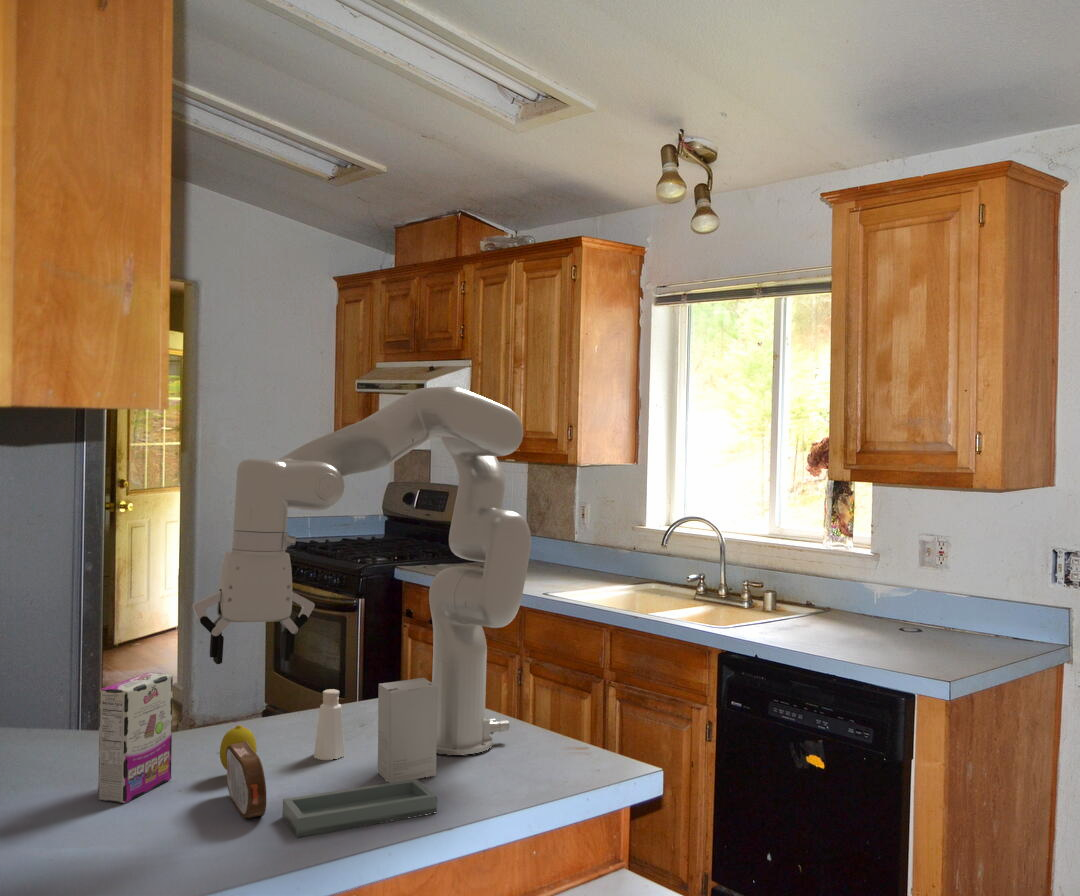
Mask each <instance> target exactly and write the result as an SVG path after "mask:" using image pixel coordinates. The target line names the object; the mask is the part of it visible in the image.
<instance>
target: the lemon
mask: <svg viewBox="0 0 1080 896" xmlns="http://www.w3.org/2000/svg"><path fill="white" fill-rule="evenodd" d="M244 741H246V742H247V743H248V744H249V745H250V747H251V748H252V749H253V750H254V752H255V753H256V754H257V749H258V748H257V741H256V738H255V735H254V733H253V732H252V731H251V730H250V729H249V728H246V727H245V726H242V725H241V724H237V725H236V726H235V727H233V728H231V729H230V730H228V731H227V732H226V733H225V734H224V736H223V738H222V739H221V742H220V748H219V759H220V763H221V765H222V767H223V768H224V769H225V770H226V771H227V758H226V750H227V747H228V746H229V745H232V744H236V743H242V742H244Z"/></svg>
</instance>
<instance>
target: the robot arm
mask: <svg viewBox="0 0 1080 896" xmlns="http://www.w3.org/2000/svg"><path fill="white" fill-rule="evenodd" d="M433 438H440V439H441V441H442V443H443V445H444V447H445V448H446V450H447V451H448V453H449V455H450V456H451V458H452V459H453V461H454V463H455V467H456V470H457V475H458V485H457V492H456V498H455V502H454V507H453V512H452V517H451V522H450V528H449V534H448V547H449V549H450V551H451V553H453V554H454V555H455V556H456V557H459V558H460V559H464V560H467V561H473V562H481V563H484V566H483V569H480V568H474V567H465V566H451V567H447V568H444V569H442V570H441V571H439V572H438V573H437V574H436V575H435V576H434V577H433V579H432V581H431V583H430V586H429V589H428V593H429V594H428V599H429V600H428V602H429V609H430V614H431V621H432V632H433V633H432V637H433V638H432V639H433V640H432V642H433V643H432V645H433V646H432V649H433V651H432V652H433V653H432V673H431V674H432V679H431V682H432V683H433V684H435V685H436V686H438V689H437V747H436V753H439V754H438V755H441V754H447V755H446V756H451V755H461V754H473V753H479V752H482V751H485V750H487V751H489V750H490V749H491V748H493V746H492V745H494V739H493V737H492V735H494V733H496V732H497V733H500V732H508V731H509V730H510V726H511V725H510V722H509V720H508V719H503V720H498V721H497V719H496V718H490V719H488V718H486V692H487V691H486V689H487V688H486V686H487V659H488V658H487V655H488V650H487V649H488V648H487V647H488V646H487V639H486V635H485V631H484V627H485V628H491V629H492V628H493V629H498V628H504V627H506V626H508V625H509V624H511V622H513V620H514V619H516V616H517V614H518V612H519V609H520V606H521V603H522V598H523V594H524V588H525V584H526V583H525V581H526V577H527V572H528V567H529V561H530V557H531V556H530V555H531V551H532V550H531V548H532V535H531V529H530V526H529V523H528V522H527V521H526V519H525V518H524V516H522V515H521V514H519V513H518V512H516V511H512V510H510V509H509V510H508V509H503V504H504V497H505V490H506V480H505V475H504V474H505V473H504V470H503V468H502V466H501V463H500V461H499V459H498V458H497V457H505V456H508V455H509V456H510V454H513V453H515V451H517V450H518V448H519V446H521V444H522V442H523V439H524V427H523V423H522V421H521V419H520V417H519V416H518V414H517V413H516V412H515V411H513V410H512V409H511V408H510V407H507V406H506V405H503V404H500V403H498V402H496V401H493V400H492V399H489V398H486V397H484V396H482V395H481V394H480V395H479V394H477V393H475V392H472V391H470V390H467V389H464V388H461V387H457V386H434V387H433V386H431V387H422V388H417V389H414V390H411V391H410V392H408V393H406V394H405V395H403V396H401V397H399V398H398V399H396V400H393V401H392V402H391V403H389V404H388V405H386V406H384V407H382V408H381V409H379V410H378V411H375V412H374V413H373V414H370V415H369V416H367V417H365V418H363V419H362V420H360V421H357V422H355V423H352V424H349V425H347V426H345V427H342V428H340V429H338V430H335V431H333V432H331V433H329V434H326V435H323V436H320V437H318V438H315V439H313V440H311V441H309V442H307V443H304V444H302V445H301V446H299V447H297V448H296V449H294V450H291V452H289V453H287V454H286V455H285V454H284V455H283V456H282V457H280V458H278V459H277V460H276V459H264V458H247V459H243V460H241V461H240V462H239V463H238V466H237V468H236V469H237V471H236V479H235V480H236V481H235V483H236V484H235V496H234V509H233V510H234V511H233V512H234V513H233V526H232V527H233V530H232V531H233V532H232V541H231V542H232V545H231V550H230V551H229V550H228V551H226V552H225V554H224V558H223V560H222V561H223V562H222V566H221V571H220V577H219V578H220V579H219V585H218V591H217V592H214V593H213V594H211V595H208V596H206V597H205V598H203V599H200V600H198V601H196V602H194V603H193V604H192V609H193V611H194V613H195V616H196V617H197V619H198V622H199V623H200V624H201V626H203V627H204V628H205V629H206V631H208V633H210V639H209V640H210V645H209V658H212V659H213V662H214V664H216V665H221V664H223V659H224V658H223V656H224V654H223V652H224V639H225V637H224V636H223V634H222V633H223V631H224V630H225V629H226V628H227V627H228V625H230V623H259V622H260V623H265V622H266V623H267V622H271V623H272V622H280V624H281V625H282V626H283V627H284V629H283V630H282V632H281V638H280V639H281V640H280V654H279V656H280V658H281V659H282V660H283V661H285V662H291V655H294V654H295V640H296V638H295V637H296V636H295V635H296V634H297V633H298V632H299V630H300V628H302V627H303V626H304V624H306V623H307V622H308V620H309V617H310V615H311V614H312V612H313V610H314V609H315V606H316V605H315V603H314V602H313V601H311V600H309V599H307V598H306V597H304V596H301V595H300V594H298V593H296V592H295V591H293V574H292V573H293V572H292V563H291V557H290V553H289V552H286V551H287V549H288V548H289V547H290V546H295V545H296V541H297V538H296V536H291V535H289V534H288V533H289V532H287V530H288V529H287V527H288V513H289V509H294V510H295V509H296V510H301V511H302V510H303V511H310V512H311V511H315V512H317V511H318V512H319V511H324V510H328V509H329V508H331V507H334V506H335V505H337V504H338V502H340V500H341V499H342V497H343V495H344V492H345V481H344V477H345V476H348V475H350V476H351V475H353V474H360V473H367V472H371V471H375V470H379V469H381V468H382V469H383V468H386V467H388V466H390V465H392V464H393V463H395V462H396V461H398V460H399V459H401V458H402V457H404V456H405V455H407V454H408V453H410V452H411V451H413V450H414V449H415V448H418V447H419V446H421V445H422V444H424V443H425V442H428V440H431V439H433ZM293 603H295V604H297V605H299V606H300V607H301V609H300V612H299V613H298V614H297V615H296V616H295V617H294V618H293V619H292V618H291V616H292V613H293ZM214 605H216V613H217V615H218V616H217V618H215V619H214V621H212V620H211V619H210V617H209V616H208V614H207V609H208V608H210V607H212V606H214ZM489 748H490V749H489ZM488 749H489V750H488ZM485 752H486V751H485ZM482 753H483V752H482ZM479 754H480V753H479ZM473 755H474V754H473Z"/></svg>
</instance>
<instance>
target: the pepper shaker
mask: <svg viewBox="0 0 1080 896" xmlns="http://www.w3.org/2000/svg"><path fill="white" fill-rule="evenodd" d="M339 696H340V690H338V689H335V688H332V689H331V688H329V689H328V688H327V689H325V690H323V691H322V703H321V704H320V706H319V711H318V713H319V714H318V721H317V729H316V736H315V745H314V746H315V747H314V750H313V752H314V753H313V758H314V759H316V758H317V759H316V760H321V761H334V760H333V759H337V760H339V759H341V758H340V757H342V758H344V757H345V743H344V730H343V726H344V725H343V715H342V713H343V712H342V704H340V703H339V699H340V697H339ZM343 756H344V757H343ZM338 758H339V759H338Z"/></svg>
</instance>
